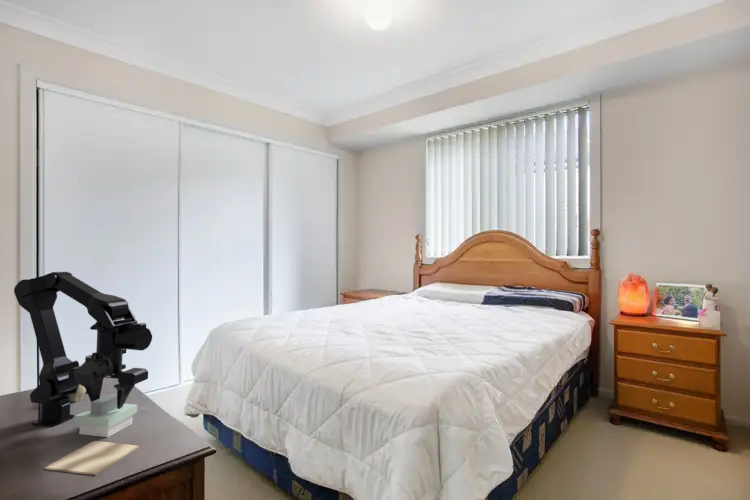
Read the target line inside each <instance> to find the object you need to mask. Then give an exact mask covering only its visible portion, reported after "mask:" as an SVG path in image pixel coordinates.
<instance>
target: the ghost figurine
mask: <svg viewBox="0 0 750 500" xmlns="http://www.w3.org/2000/svg"><path fill="white" fill-rule="evenodd" d="M85 392H86V389H85V387H84V386H82V385H80V384H79V386H78V389H77V392H76V393H75V394H71V395H69V396H70V404H71V403H77V402H79V401H82V400H83V397H85V395H86V393H85Z"/></svg>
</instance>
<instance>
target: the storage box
mask: <svg viewBox="0 0 750 500" xmlns="http://www.w3.org/2000/svg"><path fill="white" fill-rule="evenodd" d="M130 425H133V415H131V416H129V417H127V418H125V419H123V420H121V421H120V422H118V423H116V424H114V425H112V426H110V427H100V426H91V425H81V424H79V435H86V436H94V437H95V436H96V437H104V438H105V437H106V438H109V437H111V436H112V435H114V434H116V433H117V432H119V431H121V430H124V429H125V428H127V427H129V426H130Z"/></svg>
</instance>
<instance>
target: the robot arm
mask: <svg viewBox="0 0 750 500" xmlns="http://www.w3.org/2000/svg"><path fill="white" fill-rule="evenodd" d="M58 292H61V293H63V295H66V296H67V297H69V298H71V299H72V300H74V301H75V302H77V303H79V304H81V305H82V306H84V307H85V308H86V309H87V314H88V315H89V316H90V317H92V318H93V319H94V320H95V321H96V322H95V323H94V324H92V325H91V326H90V327H89V329H90V330H92V331H93V330H94V331H96V352H92V353H91V354H90V355H91V360H90V361H89V362H87V363H85V364H84V365H82V364H81V365H80V363H79V361H78V360H74V361H73V360H71V359H70V358H68V357H67V353H66V350H65V347H64V343H63V342H64V341H63V338H62V335H61V332H60V327H59V324H58V321H57V317H56V314H55V311H54V306H55V304H56V300H57V299H58ZM13 294H14V296H15V299H16V300H17V303H18V304H19V306H20V307H21V308H22V309H24V310H25V311H27V312H28V313H29V316H30V319H31V323H32V327H33V331H34V335H35V338H36V342H37V345H38V348H39V352H40V356H41V359H42V367H41V369H40V372H39V375H38V380H39V381H38V382H39V385H37V386H36V387H35V388H34V390H33V391H32V392H31V393H30V394H29V398H30V402H31V403H33V404H38V411H37V420H34V421H32V422H31V425H36V426H45V427H54V426H57V425H58V424H61V423H64V422H66V421H68V420H70V419H74V418H75V414H71V403H70V396H69V395H71V394H75V393H76V392H77V389H78V386H79V384H80V385H82V386H84V387H85V389H86V391H87V393H86V394H87V395H88V398H89V400H90V403H91V402H93V401H95V400H98V399H100V398H101V394H102V393H101V392H102V389H103V382H104V379H105V378H106V379H107V378H108V379H116V380H117V382H118V383H116V384H114V385H113V388H115V389H116V391H117V392H116V393H117V408H118V409H120V408H122V407H123V405H124V404H126V401H127V399H128V398H129V396H130V393H131V391H132V390H133V389H134V387H135V386H136V385H137V384H138V383H142V382H143V381H146V380H148V379H149V371H148V369H147V368H144V367H143V368H141V367H132V368H130V369H127V370H125V369H126V368H127V367H126V366H127V365H126V364H123V355H124V354H126V353H127V350H132V351H144V350H146V349H148V348H149V347H150V345H151V342H153V341H152V339H153V334H152V331H151V330H150V328H147V323H146V322H141V323H140V322H139V323H138V320H137V318H136V316H135V315H134V313H133V311H132V309H131V308H130V306H129V302H128V301H127V300H126V299H125V298H122V297H119V296H117V295H113V294H107V293H104V292H100V290H98V289H96V288H95V287H92V286H91V285H89V284H88V283H85V282H84V281H83V280H81V279H79V278H77V277H75V276H74V275H73V274H72V273H71V272H68V271H53V272H50V273H46V274H44V275H41V276H37V277H32V278H29V279H28V278H27V279H21V280H19V281H18V282H17V284H16V285H15V286H14V288H13ZM123 370H124V371H123ZM101 388H102V389H101Z"/></svg>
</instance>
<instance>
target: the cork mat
mask: <svg viewBox="0 0 750 500" xmlns="http://www.w3.org/2000/svg"><path fill="white" fill-rule="evenodd" d="M139 447H140V446H139V445H136V444H135V445H133V444H127V443H118V442H107V441H101V440H100V441H99V440H93V441H91V442H88V443H87V444H85V445H83V446H82V447H80V448H78V449H76V450H74V451H72V452H71V453H69V454H67V455H65V456H63V457H62V458H60V459H58V460H56V461H53V463H50V464H48V465H47V466H45V467H44V470H50V471H58V472H65V473H72V474H81V475H88V476H97V475H98V474H100V473H101V472H104V471H105V470H106V469H107V468H110V467H111V466H112V465H114V464H115V463H117V462H119V461H120V460H122V459H123V458H125V457H126V456H128V455H129V454H130V453H133V452H134V451H135V450H137V449H139Z"/></svg>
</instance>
